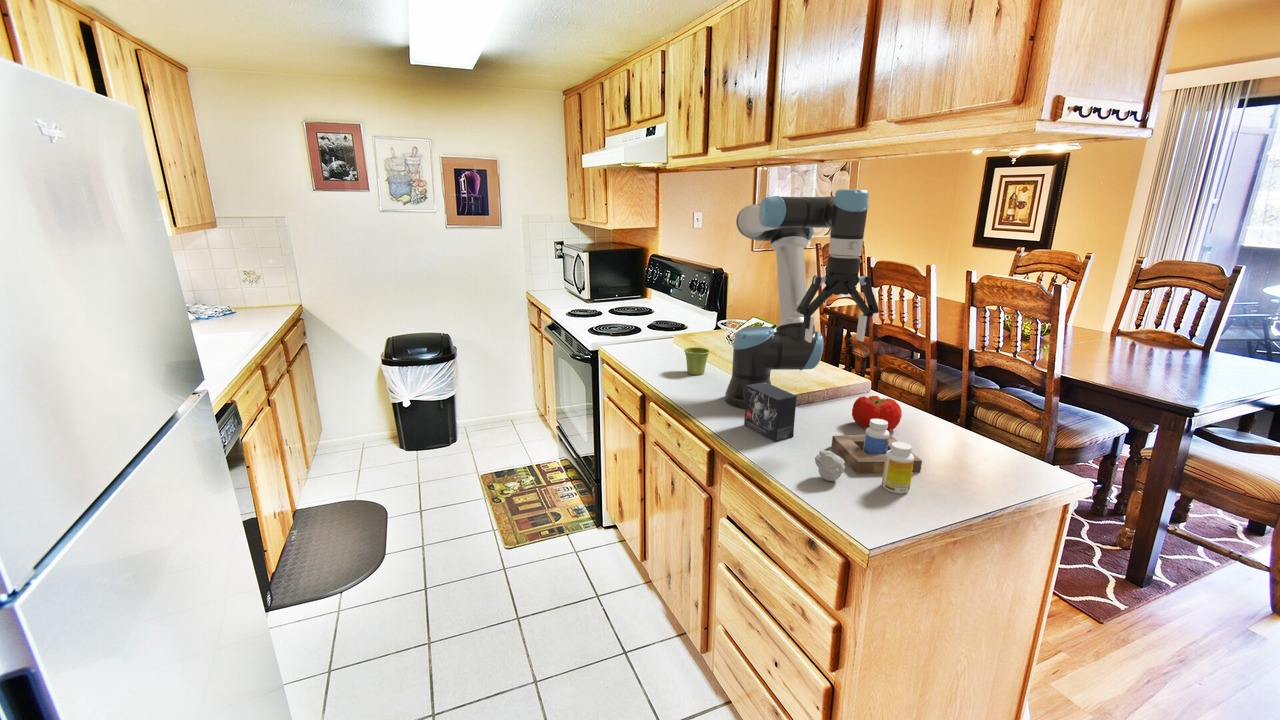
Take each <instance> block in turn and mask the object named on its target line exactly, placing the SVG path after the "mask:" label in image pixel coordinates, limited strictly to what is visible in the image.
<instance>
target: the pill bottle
mask: <svg viewBox="0 0 1280 720" xmlns="http://www.w3.org/2000/svg"><path fill="white" fill-rule="evenodd" d="M869 426H870V427H869V428H865V432H864V435H865V440H864V447H863V451H864V452H865V453H866V454H867V455H870V454H886V452H887V451H888V443H889V436H890V435H891V434H890V431H889V430H888V431H887V430H886V429H887V428H888V422H887V421H885V420H882V419H871V420H870V424H869Z"/></svg>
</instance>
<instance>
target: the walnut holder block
mask: <svg viewBox="0 0 1280 720" xmlns="http://www.w3.org/2000/svg"><path fill="white" fill-rule="evenodd" d="M864 440H865V434H853V435H851V434H849V435H848V434H847V435H845V434H844V435H843V434H842V435H841V434H840V435H832V438H831V444H830V445H831V448H832V449H833V450H834V452H836V454H838V456H839V457H841V458H842V459H843V460H844V462H845V463H846V464H847V465H848V466H849V467H850V468H851V469H852V470H853V471H854V472H855V473H856V475H861V474H862V475H863V474H865V475H870V474H871V475H873V474H883V471H884V464H885V456H886V454H870V455H867V454H866V453H865V452H864V451H863V447H864ZM893 442H899V441H898V440H897V439H896V438H894V436H892V435H891V434H890V436H889V443H888V450H890V449H891V444H892V443H893ZM911 454H912V455H913V456H914V463H913V470H912V474H913V473H918V474H919V473H921V470H922V464H923V459H921V458H920V457H918V456H917V455H916V454H914V453H913V452H912V451H911Z"/></svg>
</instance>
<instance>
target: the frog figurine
mask: <svg viewBox="0 0 1280 720" xmlns="http://www.w3.org/2000/svg"><path fill="white" fill-rule="evenodd" d="M814 462H815V465H816V467H817V468H818V473H819V474H818V475H820V477H821V478H822V479H823V480H825V481H828V482H832V481H837V480H838V479H839V478H840V477H841V475H842V474H843V473H844V472H845V468H846V466H845V463H846V461H845V460H844V459H843V458H842V457H841V456H840V455H837V454H836V453H834V452H833V451H831V450H824V449H822V450H819V452H818V454H816V456H815V457H814Z"/></svg>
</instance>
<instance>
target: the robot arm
mask: <svg viewBox="0 0 1280 720" xmlns="http://www.w3.org/2000/svg"><path fill="white" fill-rule="evenodd" d="M868 210H869V192H868V190H867V189H854V188H853V189H852V188H851V189H848V188H847V189H845V188H844V189H837V190H836V191H835V194H834V195H833V196H829V195H828V196H780V195H774V196H766V197H764V198H762V200H761V202H760V203H757V204H750V205H746V206H744V207H743V208H742V209H740V211H739V212H738V214H737V216H736V220H735V221H736V223H735V224H736V228H737V230H738V232H739V233H740V234H741V235H742V236H743V237H745V238H747V239H750V240H753V241H759V242H761V241H762V242H770V248H771V250H773V251H774V252H775V258H776V272H777V286H778V287H777V290H778V300H779V303H778V304H779V315H780V316H779V317H780V322H779V324H778V325H777V326H776V328H775V331H774V328H772V327H770V326H764V325H763V326H761V325H757V326H748V327H744V328H741V329H740V330H737V332H736V333H735V335H734V339H733V345H732V348H733V351H732V352H733V353H732V367H731V368H732V369H731V370H732V372H731V373H732V374H731V378H730V381H729V383H728V386H727V389H726V390H725V397H724V400H725V402H726V403H727V404H728V405H731V406H733V407H736V408H740V409H745V402H746V386H747V385H752V384H757V383H763V382H766V383H768V384H771V385H772V382H771V371H772V370H774V371H775V370H777V371H778V370H779V371H780V370H782V371H784V370H786V371H787V370H791V371H793V370H796V371H797V370H799V371H803V370H812V369H815V368H816V367H817V366H818V365H819V363H820V361H821V358H822V356H823V351H824V337H823V334H822V333H821V332H819V331H816V328H815V316H814V315H813V314H814V313H815V312H816V311H817V310H818V309H819V308H820V307H821V306H822V305H823V304H824V303H825V302H826V300H827V299H829V298H830V297H832V295H836V296H837V295H838V296H839V295H845V296H847V295H850V297H851V298H852V300H853V301H854V302H855V304H856V305H857V307H858V308H859V310H860V311H861V312H862V313H859V314H858V321H857V328H856V336H855V339H856V340H857V341H858V342H865V334H866V329H868V328H869V326H870V322H871V317H873V316H874V314H878V313H879V312H880V308H879V306H878V303H877V300H876V298H875V294H874V292H873V289H872V285H871V283H872V282H871V281H872V280H871V279H872V278H871V277H870V276H868V275H866V274H865V275H864V274H863V275H862V276H859V272H860V268H861V260H862V259H861V258H860V257H859V256H862V251H863V243H864V238H865V237H864V235H865V229H866V222H867V214H868ZM814 228H816V229H817V228H818V229H819V228H822V229H825V228H826V229H827V228H828V229H830V234H829V235H830V236H829V243H828V244H829V245H828V254H829V256H828V257H827V261H826V262H827V263H826V272H825V273H826V274H825V276H818V275H813V276H812V279H811V280H812V281H811V283H810V286H809V288H807V278H806V276H807V275H806V260H805V250H804V249H805V248H806V247H807V246H808V244H809V241H810V240H811V239H812V238H813V235H814V232H815V231H814ZM823 284H825V286H824V288H822V289H821V292H820V293H819V294H818V295H817V296H816V294H817V293H818V291H819V289H820V286H823ZM858 284H860V286H861V288H862V292H863V294H864V297H865V300H866V302H865V301H864V300H863V298H862V297H861V295H860V293H859V290H857V288H856V286H857V285H858ZM815 296H816V297H815Z"/></svg>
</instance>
